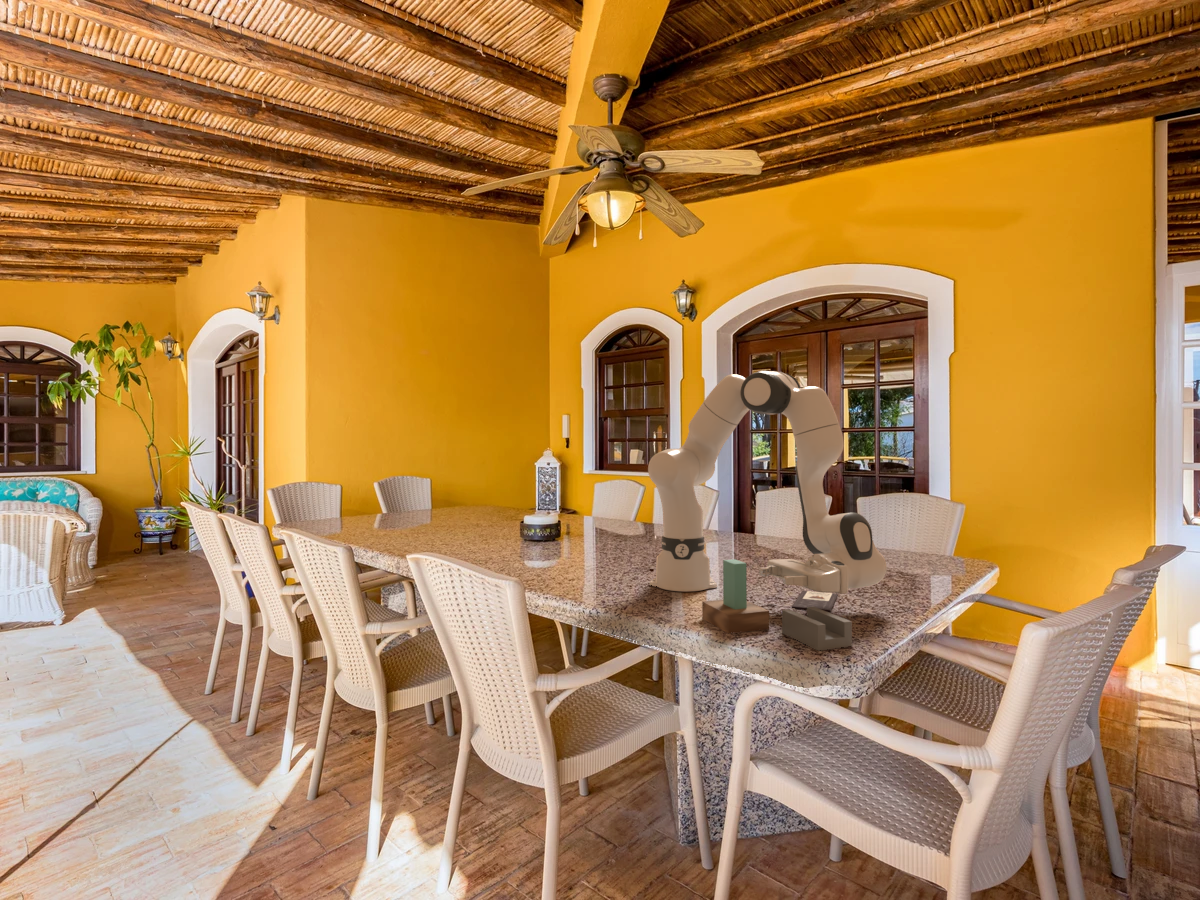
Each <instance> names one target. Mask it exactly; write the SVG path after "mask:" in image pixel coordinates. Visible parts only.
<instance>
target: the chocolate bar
mask: <svg viewBox="0 0 1200 900" xmlns="http://www.w3.org/2000/svg"><path fill="white" fill-rule="evenodd" d="M838 595H839V594H838V593H834V592H817V591H813V590H812V591H811V590H809V591H808V590H802V591H801V592H800V593H799V595H798V596H797V598H796V599H795V601H794V602H793V604H792V605H791V609H792V608H795V609H794V610H801V609H804V611H807V607H816V608H819V609H821V610H824V611H826V612H829V613H830V612H831V613H832V610H833V608H834V606H833V605H835V603H836V601H837V599H838Z"/></svg>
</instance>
